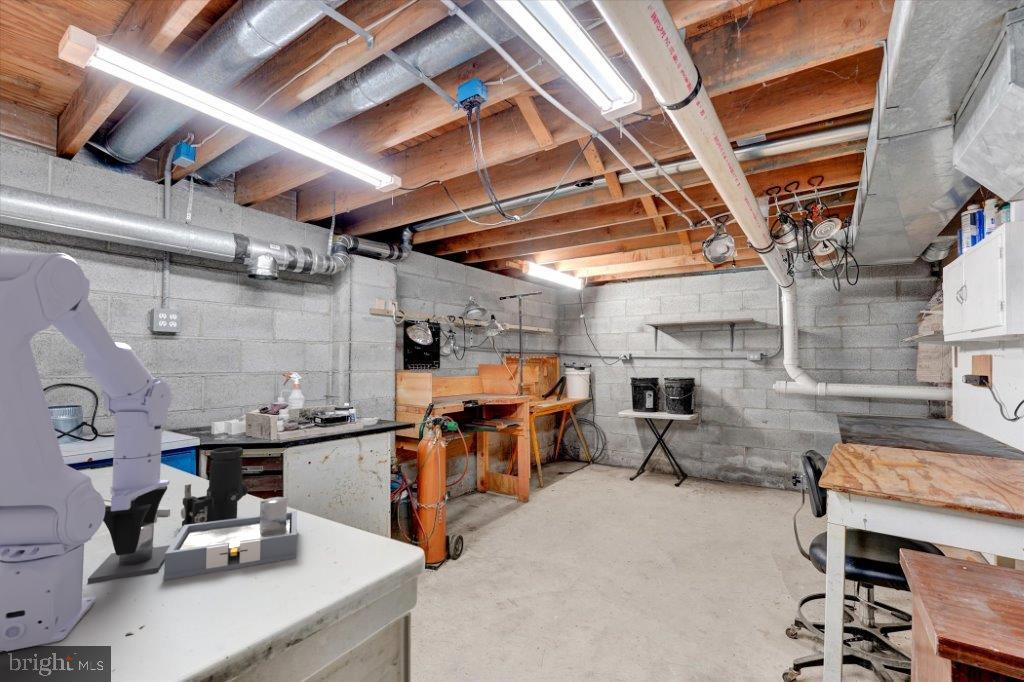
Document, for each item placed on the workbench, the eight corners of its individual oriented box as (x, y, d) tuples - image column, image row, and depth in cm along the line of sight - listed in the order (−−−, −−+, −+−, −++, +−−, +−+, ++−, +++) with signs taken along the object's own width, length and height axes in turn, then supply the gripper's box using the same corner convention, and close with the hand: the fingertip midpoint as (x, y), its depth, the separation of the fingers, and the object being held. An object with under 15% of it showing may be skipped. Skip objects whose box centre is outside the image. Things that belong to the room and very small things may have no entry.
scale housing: (296, 558, 72) (296, 535, 72) (163, 580, 65) (164, 554, 65) (296, 529, 84) (296, 510, 84) (183, 545, 76) (184, 524, 76)
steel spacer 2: (286, 532, 75) (286, 502, 76) (258, 536, 74) (259, 505, 74) (286, 524, 79) (287, 495, 79) (260, 528, 77) (261, 498, 77)
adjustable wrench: (80, 507, 97) (80, 498, 97) (117, 499, 103) (117, 491, 103) (140, 527, 85) (140, 517, 85) (178, 516, 91) (178, 507, 91)
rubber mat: (157, 571, 67) (158, 567, 67) (87, 582, 64) (87, 578, 64) (172, 548, 75) (173, 544, 75) (111, 557, 72) (111, 553, 72)
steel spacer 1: (147, 563, 68) (148, 529, 69) (113, 567, 67) (115, 533, 67) (156, 552, 72) (157, 521, 72) (124, 556, 71) (126, 524, 71)
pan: (288, 547, 71) (288, 542, 71) (172, 565, 65) (173, 560, 65) (289, 523, 82) (290, 518, 82) (190, 536, 75) (190, 531, 75)
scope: (182, 452, 86) (238, 444, 94) (179, 526, 85) (236, 511, 93) (199, 457, 81) (257, 449, 89) (196, 536, 80) (255, 520, 89)
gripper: (156, 462, 65) (153, 557, 65) (180, 444, 78) (177, 524, 78) (93, 467, 62) (89, 567, 62) (128, 448, 75) (125, 530, 75)
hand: (134, 543), depth 70 cm, fingers open, 7 cm apart
